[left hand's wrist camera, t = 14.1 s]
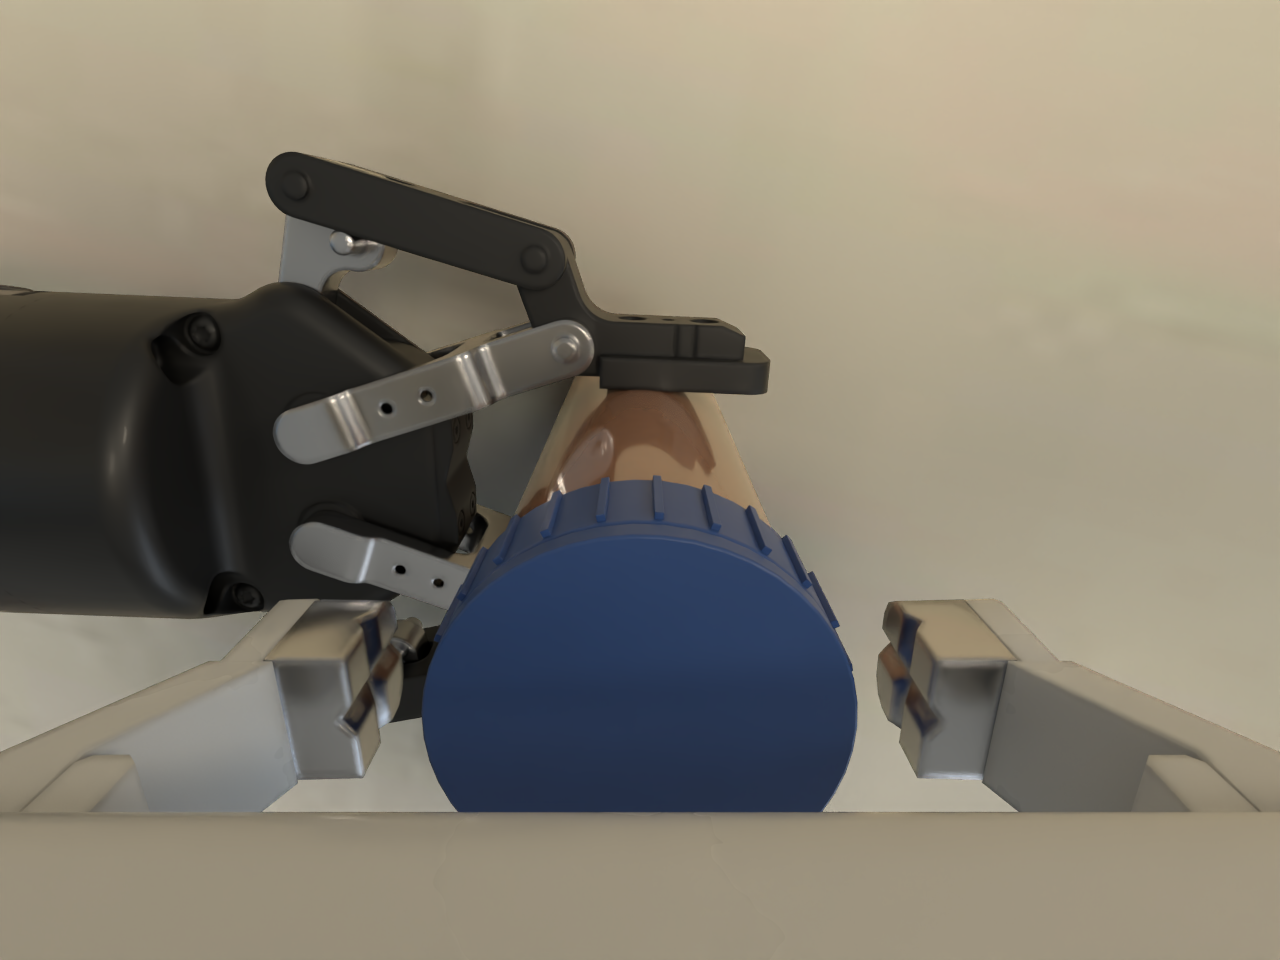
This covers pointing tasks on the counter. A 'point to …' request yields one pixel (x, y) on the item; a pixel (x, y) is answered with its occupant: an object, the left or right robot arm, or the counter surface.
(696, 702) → the lid
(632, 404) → the jar
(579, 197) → the counter surface
